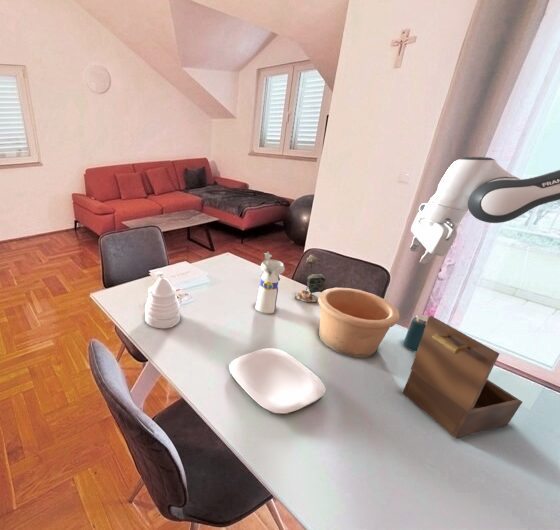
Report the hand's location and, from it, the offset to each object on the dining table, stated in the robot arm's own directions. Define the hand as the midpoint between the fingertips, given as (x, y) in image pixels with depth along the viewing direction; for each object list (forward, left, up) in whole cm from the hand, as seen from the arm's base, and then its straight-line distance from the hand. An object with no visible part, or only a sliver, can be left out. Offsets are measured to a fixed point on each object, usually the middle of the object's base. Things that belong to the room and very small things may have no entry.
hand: (417, 256), depth 96 cm
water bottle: (+34, -23, -29) cm, 50 cm away
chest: (+12, +30, -29) cm, 43 cm away
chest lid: (+20, +30, -12) cm, 38 cm away
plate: (+51, +12, -29) cm, 60 cm away
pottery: (+18, +1, -29) cm, 34 cm away
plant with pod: (+13, -26, -29) cm, 41 cm away
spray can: (-1, +8, -29) cm, 30 cm away
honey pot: (+75, -25, -29) cm, 84 cm away
